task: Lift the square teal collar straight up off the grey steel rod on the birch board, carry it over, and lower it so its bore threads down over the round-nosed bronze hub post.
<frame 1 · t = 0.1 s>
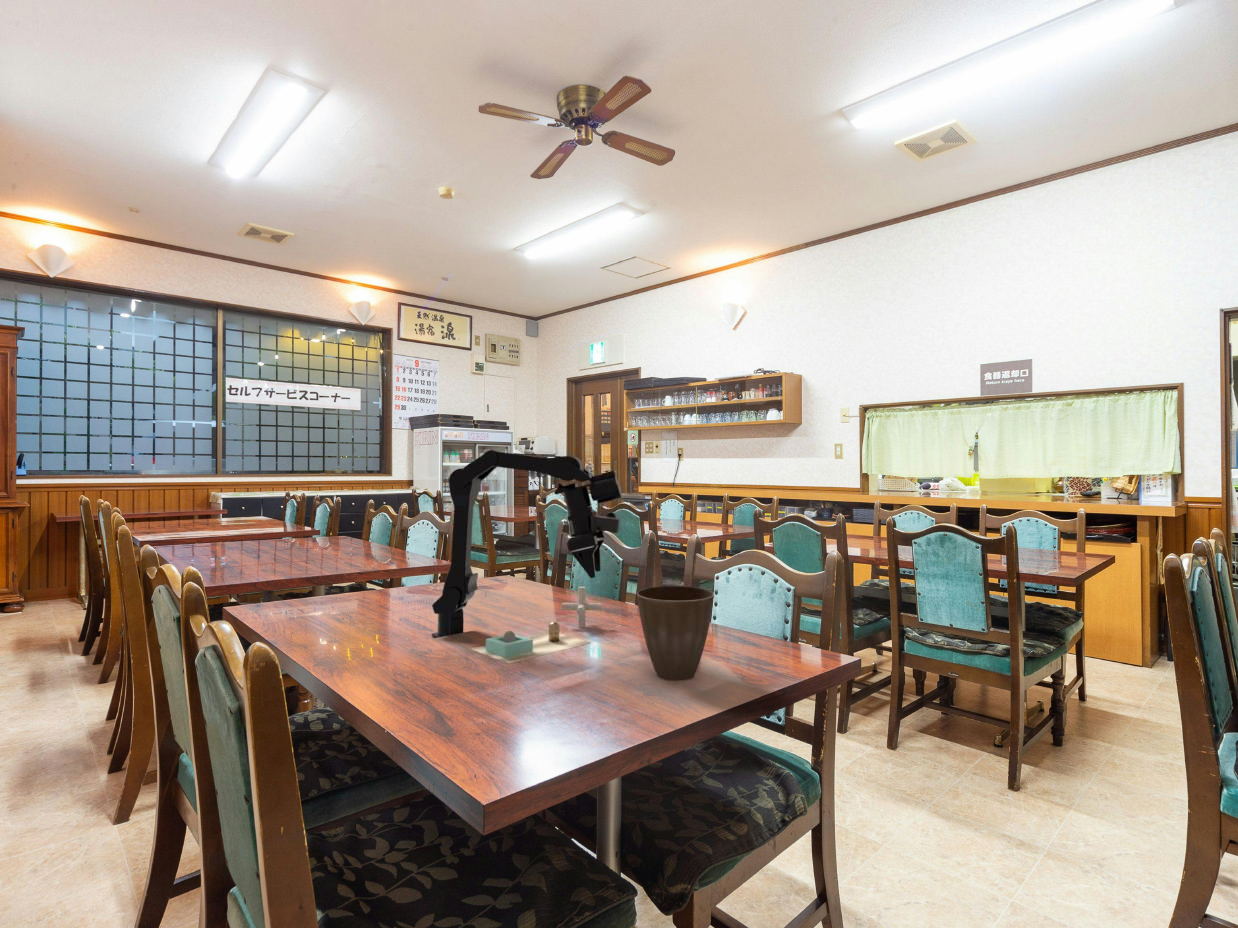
hand: (595, 574, 149), 15 cm above the table, tool pointing down, fingers open, 9 cm apart
birch stand board: (532, 652, 139), on the table
plant pot: (674, 676, 125), on the table
bronze hub post: (554, 640, 143), resting on birch stand board
pipe connector: (581, 627, 163), on the table
teal collar: (509, 651, 135), point 1 cm above the table, touching birch stand board
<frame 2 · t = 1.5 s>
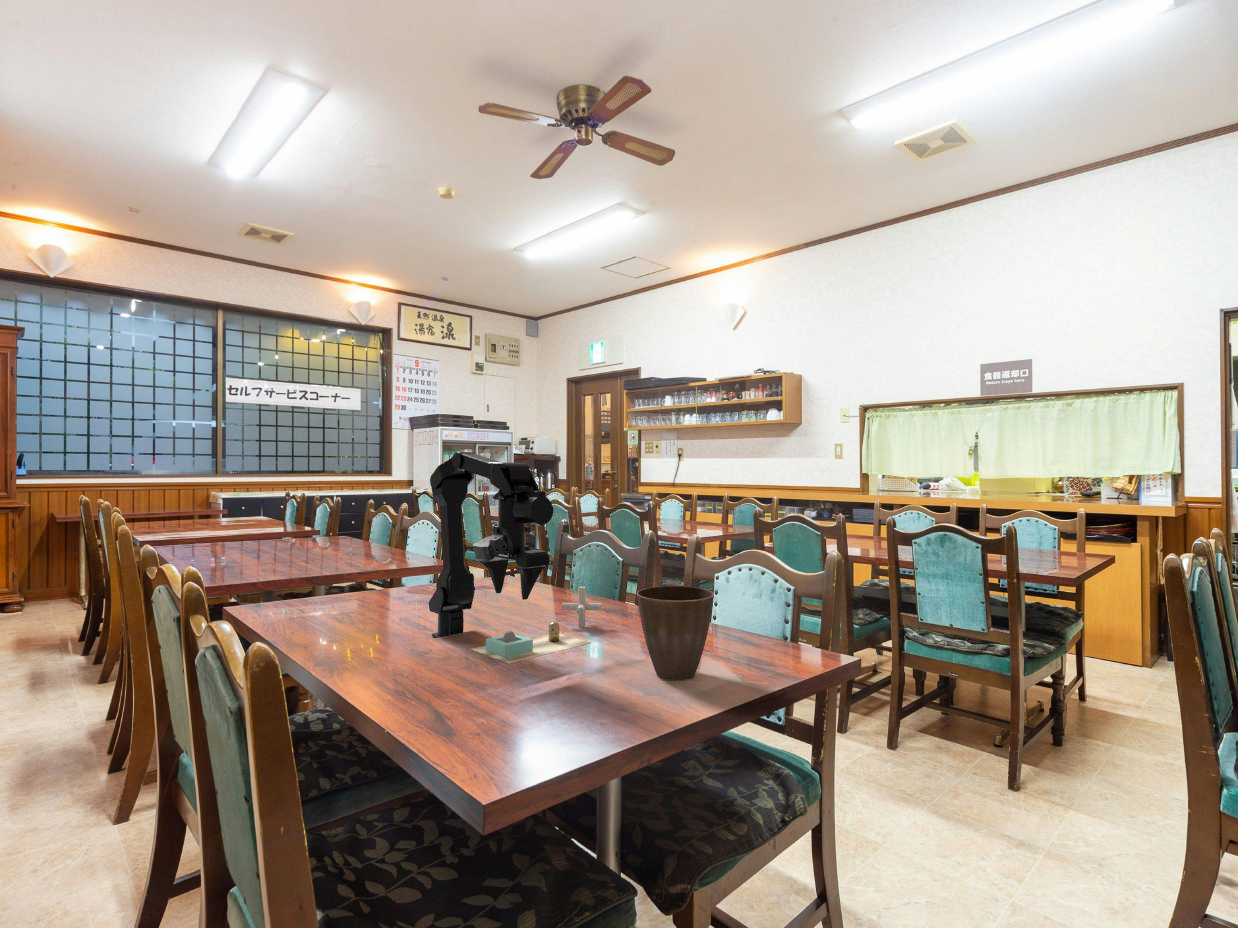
hand: (511, 596, 135), 13 cm above the table, tool pointing down, fingers open, 9 cm apart
nothing on the table moved.
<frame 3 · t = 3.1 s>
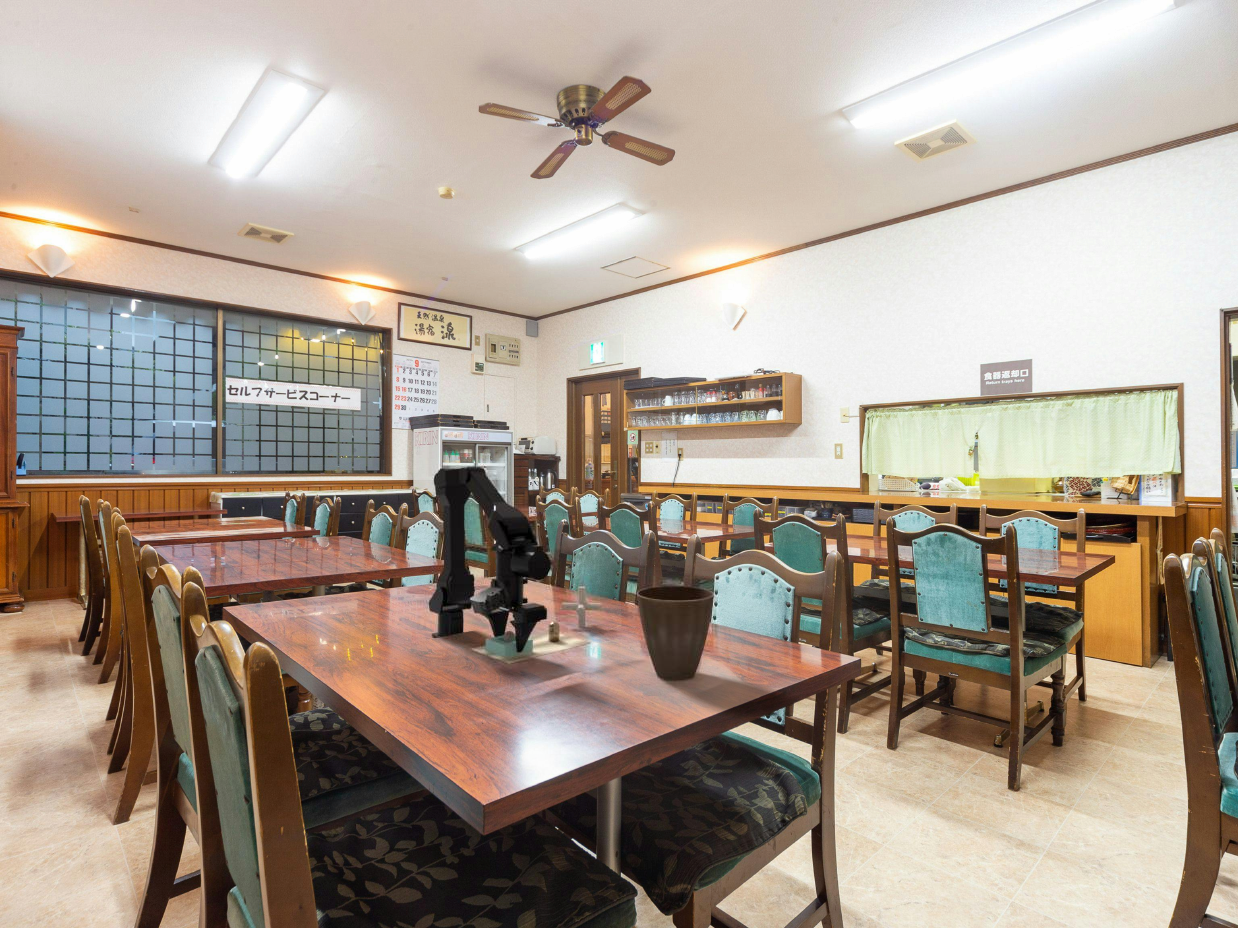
hand: (509, 648, 135), 2 cm above the table, tool pointing down, fingers closed on teal collar, 7 cm apart
teal collar: (509, 651, 135), point 1 cm above the table, touching birch stand board, gripper
everything else where it was.
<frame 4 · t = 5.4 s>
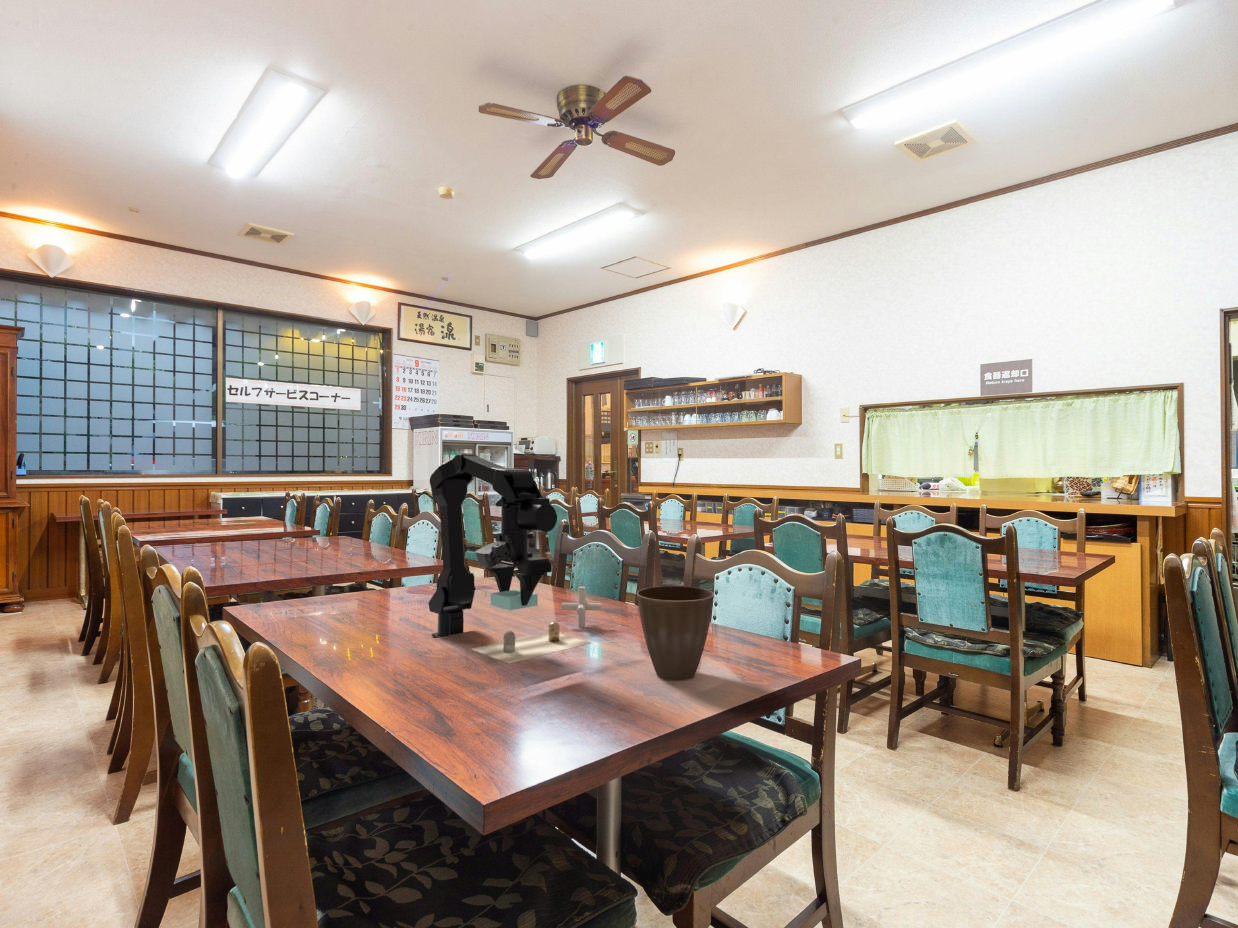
hand: (514, 602, 136), 11 cm above the table, tool pointing down, fingers closed on teal collar, 7 cm apart
teal collar: (514, 605, 136), point 11 cm above the table, touching gripper
everything else where it was.
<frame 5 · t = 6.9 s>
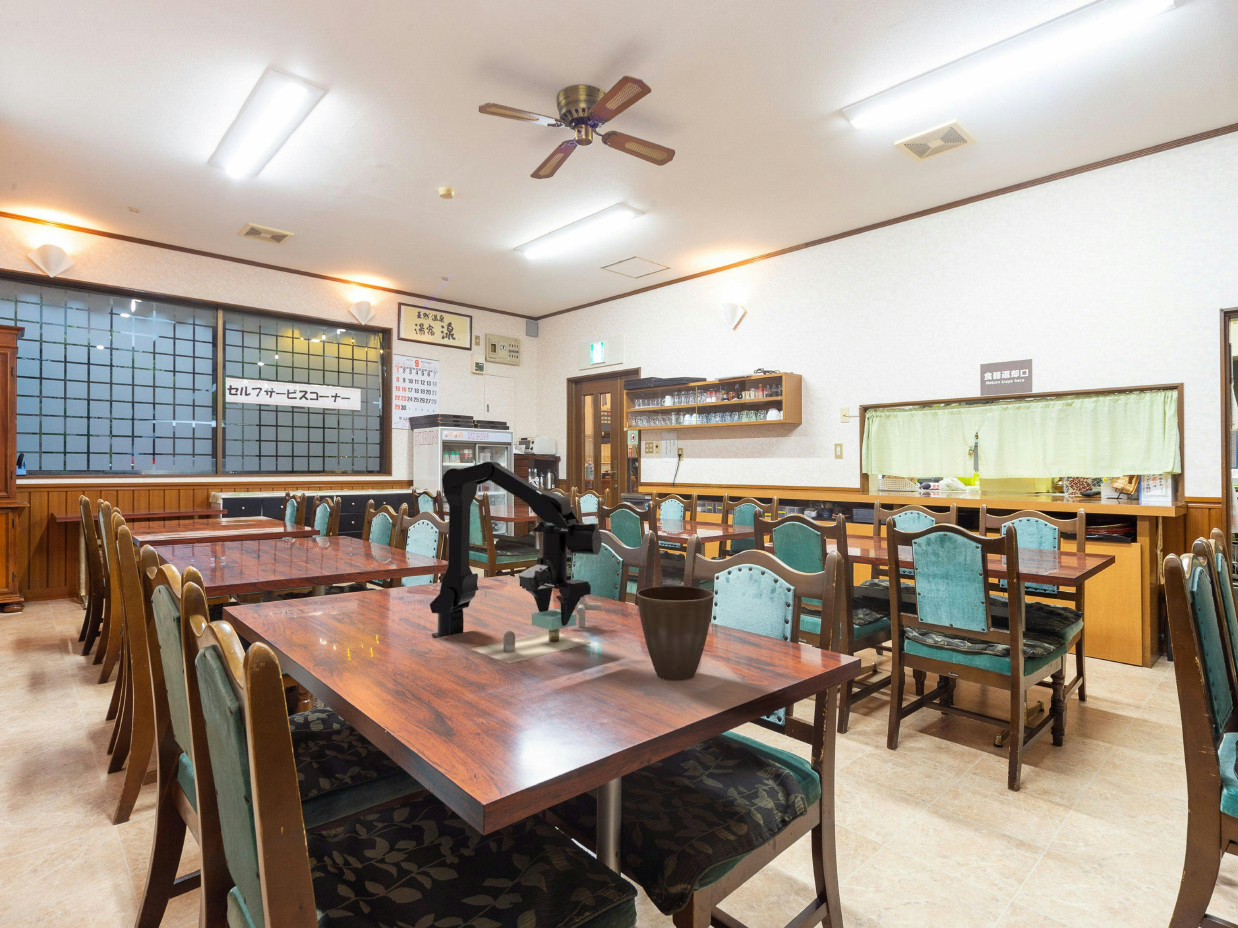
hand: (553, 622, 144), 6 cm above the table, tool pointing down, fingers closed on teal collar, 7 cm apart
teal collar: (553, 625, 144), point 5 cm above the table, touching gripper
everything else where it was.
when the fingers open (3 cm above the table, at t = 7.9 s): teal collar stays where it is, resting on birch stand board.
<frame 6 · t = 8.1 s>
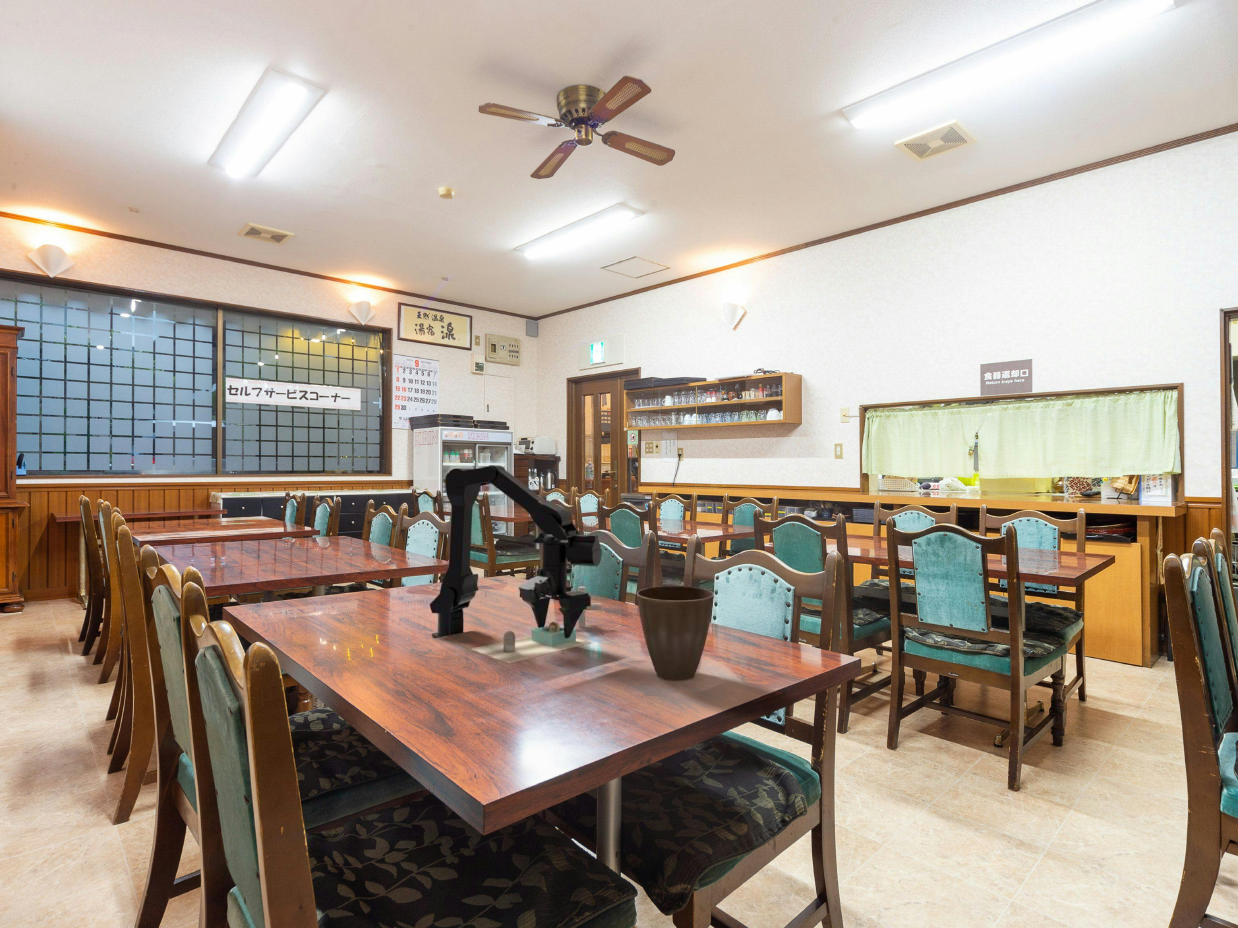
hand: (553, 634, 144), 3 cm above the table, tool pointing down, fingers open, 9 cm apart
teal collar: (553, 640, 143), point 1 cm above the table, touching birch stand board
everything else where it was.
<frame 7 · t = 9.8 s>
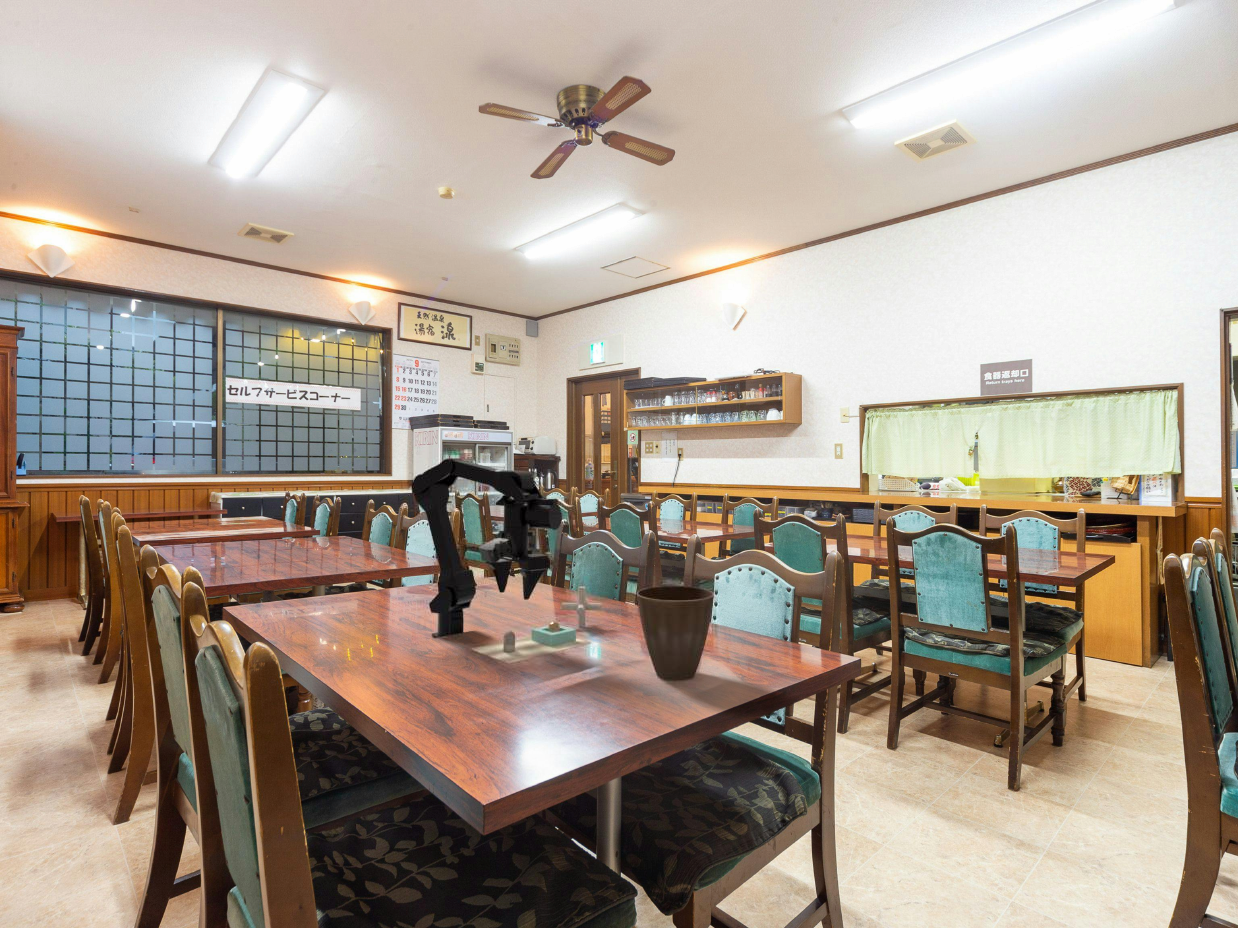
hand: (513, 595, 145), 11 cm above the table, tool pointing down, fingers open, 9 cm apart
nothing on the table moved.
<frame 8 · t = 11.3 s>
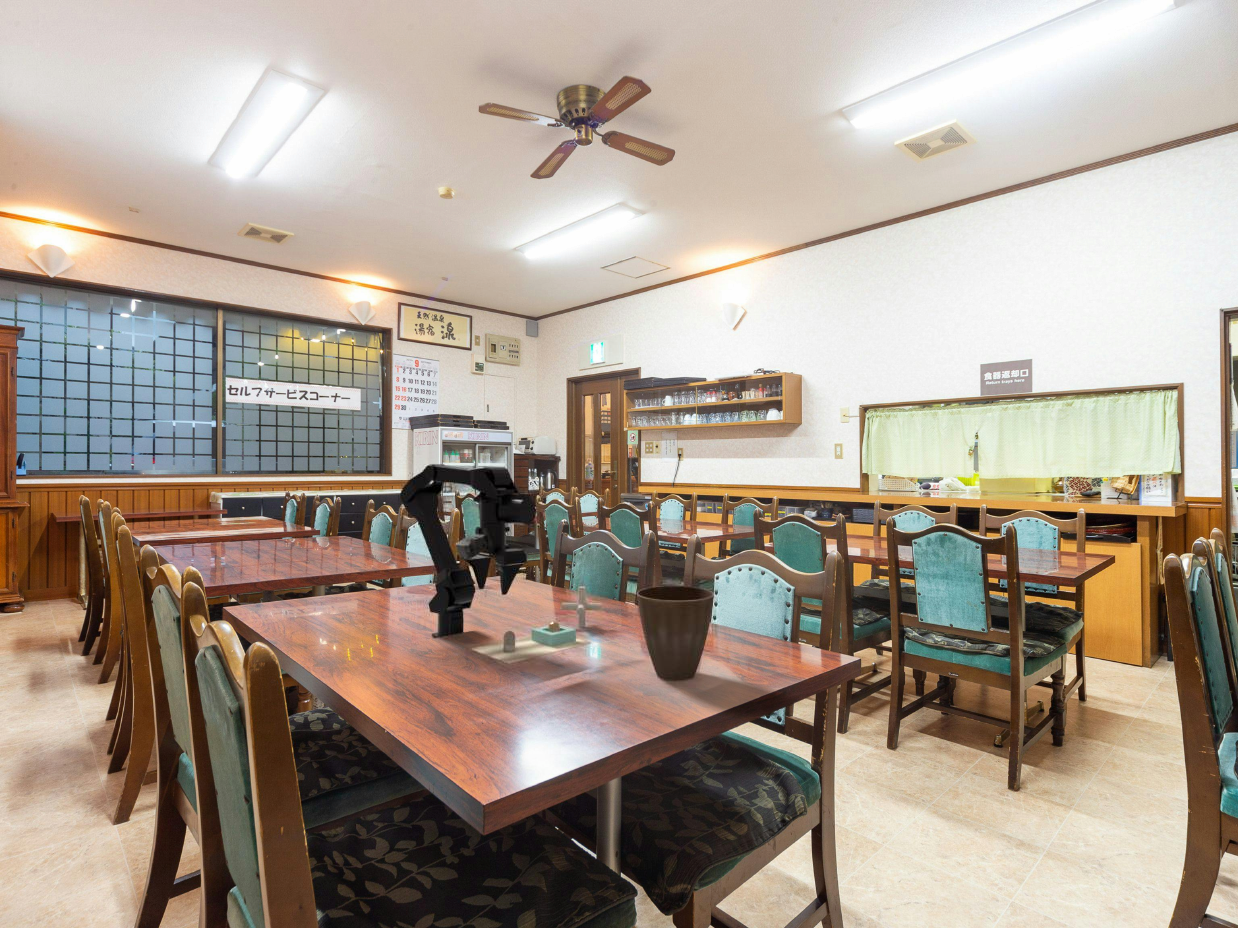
hand: (492, 591, 145), 12 cm above the table, tool pointing down, fingers open, 9 cm apart
nothing on the table moved.
at the end: teal collar 0.0 cm from the bronze hub post (horizontally); teal collar point 1.5 cm above the table; the gripper is holding nothing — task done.
